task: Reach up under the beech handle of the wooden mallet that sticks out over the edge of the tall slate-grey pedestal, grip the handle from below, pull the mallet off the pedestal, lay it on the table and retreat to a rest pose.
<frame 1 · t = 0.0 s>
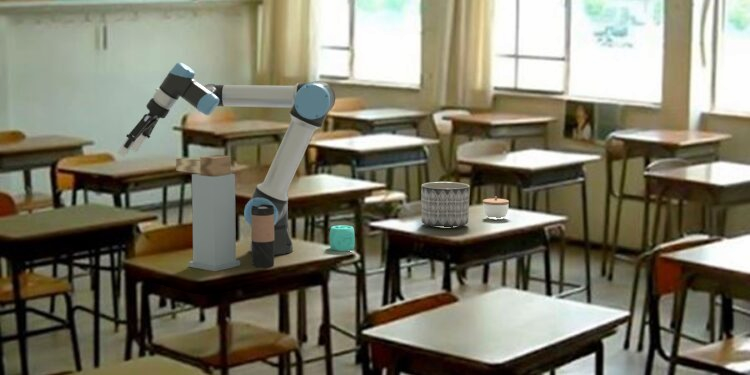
hand: (126, 152, 424), 36 cm above the table, tool tilted 35°, fingers open, 13 cm apart
pedestal: (214, 266, 412), on the table
planter: (444, 226, 490), on the table
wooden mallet: (202, 172, 410), point 31 cm above the table, touching pedestal
lidded jar: (495, 219, 507), on the table
decorative dice: (342, 249, 442), on the table
travel mug: (263, 265, 413), on the table, touching arm
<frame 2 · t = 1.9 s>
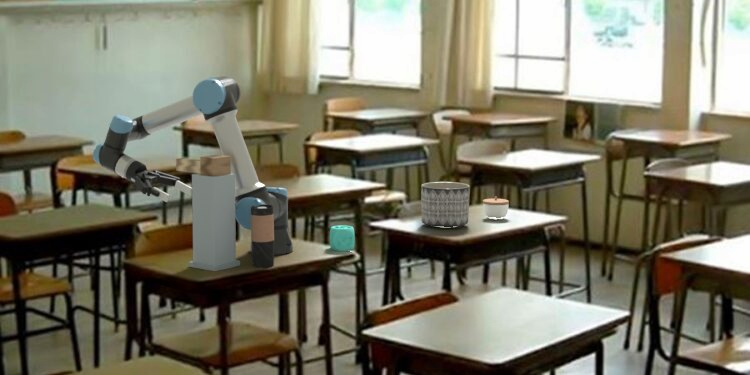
hand: (179, 195, 424), 21 cm above the table, tool tilted 70°, fingers open, 13 cm apart
travel mug: (263, 265, 413), on the table
everything else where it was.
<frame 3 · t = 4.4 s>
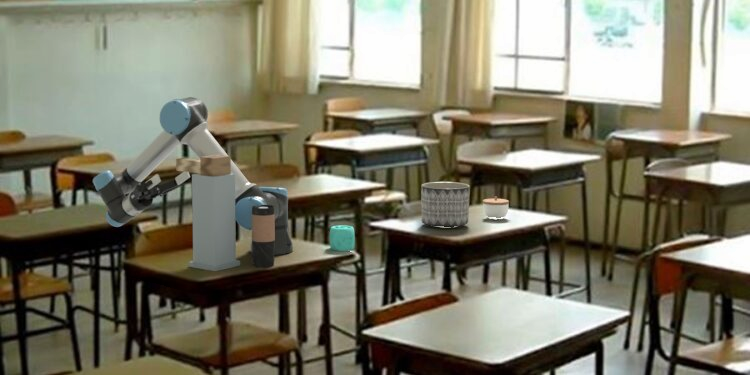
hand: (173, 175, 418), 29 cm above the table, tool pointing upward, fingers open, 13 cm apart
nothing on the table moved.
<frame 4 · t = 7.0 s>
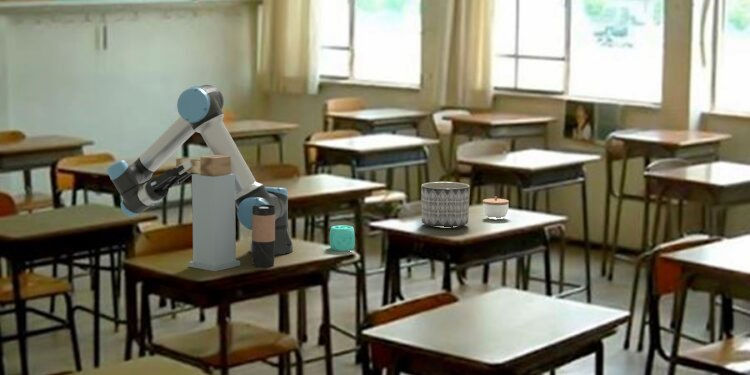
hand: (194, 162, 412), 34 cm above the table, tool pointing upward, fingers closed on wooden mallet, 3 cm apart
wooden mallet: (202, 172, 410), point 31 cm above the table, touching gripper, pedestal
travel mug: (263, 265, 413), on the table, touching arm
everything else where it was.
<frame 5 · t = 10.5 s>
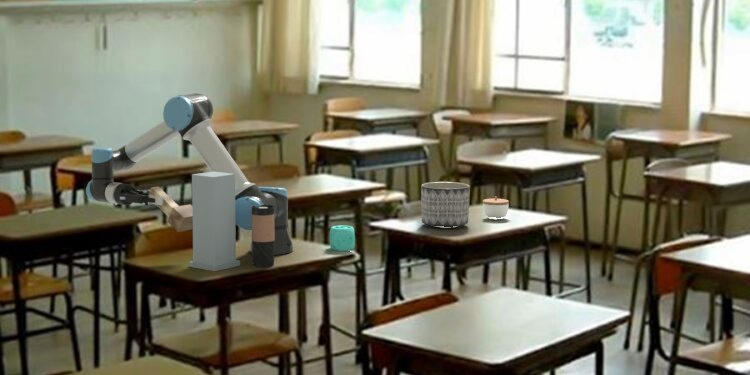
hand: (166, 200, 422), 20 cm above the table, tool horizontal, fingers closed on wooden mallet, 3 cm apart
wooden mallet: (170, 214, 422), point 15 cm above the table, tilted 30°, touching gripper
travel mug: (263, 265, 413), on the table
everything else where it was.
when the fingers open (11 cm above the table, at t = 12.2 s): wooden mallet drops 7 cm, on the table.
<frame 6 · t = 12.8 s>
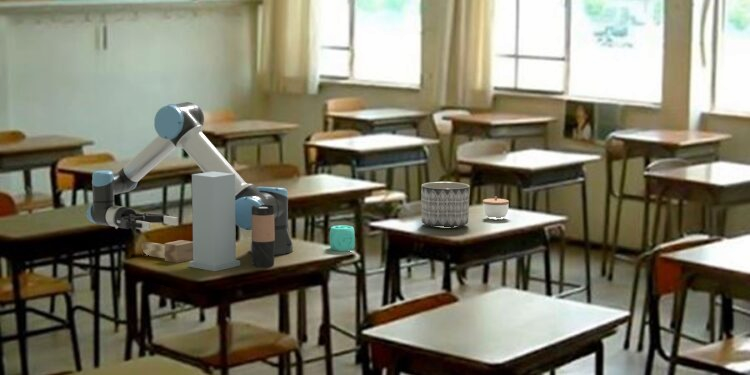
hand: (163, 224, 425), 12 cm above the table, tool horizontal, fingers open, 12 cm apart
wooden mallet: (167, 257, 425), on the table
everything else where it was.
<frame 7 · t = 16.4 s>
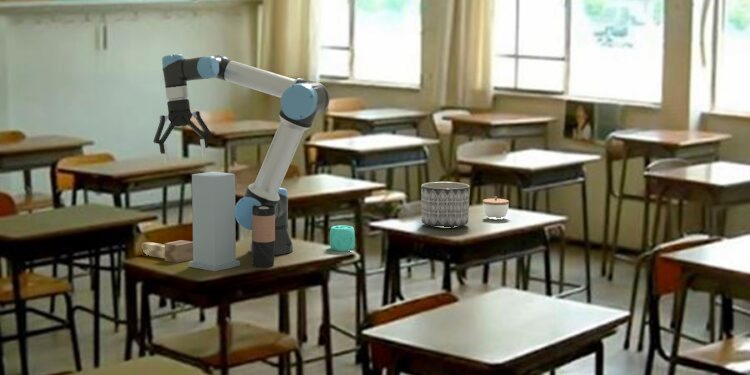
hand: (185, 160, 427), 33 cm above the table, tool pointing down, fingers open, 13 cm apart
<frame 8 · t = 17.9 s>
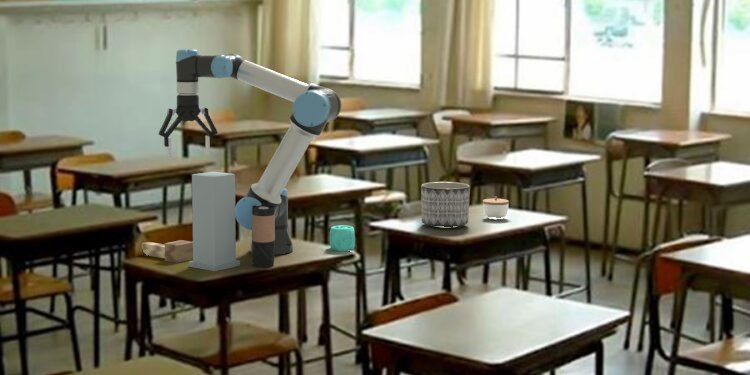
hand: (188, 155, 427), 35 cm above the table, tool pointing down, fingers open, 13 cm apart
travel mug: (263, 265, 413), on the table, touching arm
everything else where it was.
at the end: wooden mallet on the table; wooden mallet moved 35.8 cm from its start; the gripper is holding nothing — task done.
